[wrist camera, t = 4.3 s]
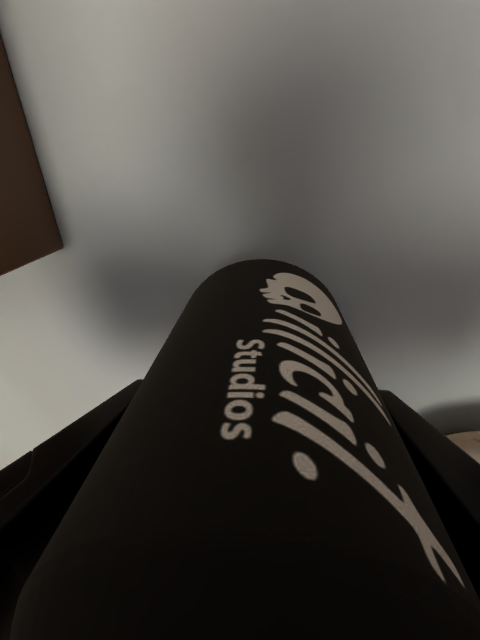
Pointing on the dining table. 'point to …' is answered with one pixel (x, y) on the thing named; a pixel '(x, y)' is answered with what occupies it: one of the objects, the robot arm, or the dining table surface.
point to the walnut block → (21, 186)
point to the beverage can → (252, 492)
